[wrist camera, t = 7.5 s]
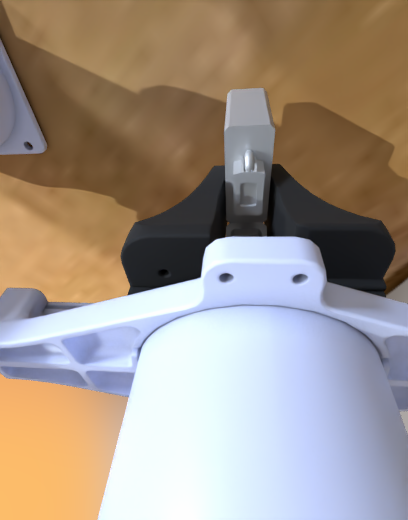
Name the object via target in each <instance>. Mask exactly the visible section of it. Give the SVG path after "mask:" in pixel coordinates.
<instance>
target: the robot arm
mask: <svg viewBox="0 0 408 520" xmlns="http://www.w3.org/2000/svg"><path fill="white" fill-rule="evenodd" d="M27 142H29V143H31V145H32V146H33V147H30V146H29V145H28V143H27ZM46 149H47V143H46V141H45V139H44V136H43V134H42V132H41V130H40V127H39V125H38V123H37V121H36V118H35V116H34V114H33V112H32V109H31V107H30V105H29V103H28V100H27V98H26V96H25V93H24V91H23V89H22V87H21V84H20V82H19V80H18V78H17V75H16V73H15V71H14V69H13V66H12V64H11V62H10V60H9V57H8V55H7V53H6V51H5V48H4V46H3V44H2V41H1V39H0V155H8V154H37V153H43V152H44V151H45V150H46ZM227 222H228V221H227V220H226V187H225V166H214V167H213V168H212V169H211V171H210V172H209V174H208V175H207V176H206V178H205V179H204V180H203V181H202V183H201V184H200V185H199V186H198V187H197V188H196V189H195V190H194V191H193V192H192V193H191V194H190V195H189V196H188V197H187V198H185V199H184V200H183V201H182V202H180V203H179V204H177V205H175V206H174V207H172V208H170V209H169V210H167V211H165V212H163V213H161V214H158V215H156V216H154V217H151V218H148V219H145V220H142V221H139V222H135V223H134V225H133V227H132V229H131V230H130V232H129V234H128V236H127V239H126V241H125V243H124V246H123V248H122V252H121V261H122V265H123V267H124V270H125V273H126V275H127V278H128V281H129V284H130V289H129V292H128V295H127V296H123V297H119V298H115V299H111V300H106V301H102V302H98V303H67V302H48V301H47V299H46V297H45V296H44V294H43V293H42V292H41V291H39V290H37V289H33V288H7V289H6V290H5V291H4V293H3V294H2V296H1V297H0V373H1V374H2V375H3V376H4V377H6V378H9V379H22V380H33V381H41V382H49V383H56V384H61V385H67V386H73V387H78V388H83V389H88V390H94V391H99V392H104V393H109V394H115V395H120V396H125V397H129V400H128V403H127V407H126V411H125V415H124V419H123V423H122V427H121V431H120V435H119V439H118V442H117V447H116V450H115V455H114V458H113V462H112V467H111V470H110V474H109V478H108V481H107V485H106V489H105V493H104V497H103V501H102V505H101V509H100V513H99V517H98V520H408V434H407V431H406V429H405V426H404V423H403V421H402V418H401V415H400V412H401V411H408V303H404V302H400V301H396V300H393V299H389V298H386V295H385V293H384V291H385V290H386V284H385V282H384V280H383V277H384V275H385V273H386V271H387V270H388V268H389V266H390V264H391V262H392V260H393V257H394V254H395V243H394V241H393V239H392V238H391V236H390V234H389V232H388V230H387V228H386V227H385V226H384V224H383V223H382V221H380V220H376V219H372V218H368V217H364V216H360V215H356V214H353V213H350V212H347V211H345V210H342V209H340V208H337V207H335V206H333V205H331V204H329V203H327V202H325V201H323V200H321V199H320V198H318V197H317V196H315V195H313V194H312V193H310V192H309V191H308V190H306V189H305V188H304V187H303V186H301V185H300V184H299V183H298V182H297V181H296V180H295V179H294V178H293V177H292V176H291V175H290V174H289V173H288V172H287V171H286V170H285V169H284V168H283V167H282V166H281V165H280V164H272V169H271V180H270V191H269V202H268V212H267V220H266V221H264V224H265V225H266V226H267V237H226V238H225V235H226V226H227Z"/></svg>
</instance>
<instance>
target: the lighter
mask: <svg viewBox="0 0 408 520" xmlns="http://www.w3.org/2000/svg"><path fill="white" fill-rule="evenodd" d="M274 137H275V126H274V122H273V117H272V113H271V108H270V104H269V99H268V95H267V92H266V91H265V89H264V88H252V89H234V90H231V91H230V92H229V93H228V95H227V106H226V117H225V128H224V144H225V187H226V220H227V221H228V222H229V223H230V224H228V225H227V226H226V237H267V226H266V225H265V224H263V222H264V221H266V220H267V212H268V202H269V191H270V180H271V169H272V159H273V148H274Z"/></svg>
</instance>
